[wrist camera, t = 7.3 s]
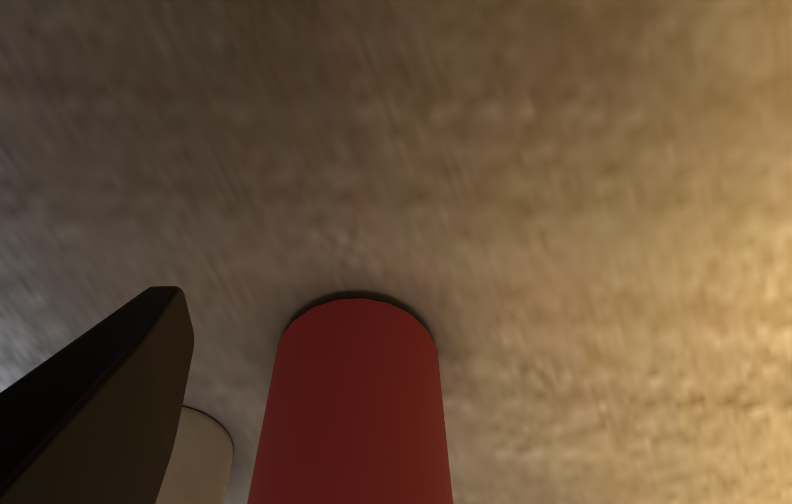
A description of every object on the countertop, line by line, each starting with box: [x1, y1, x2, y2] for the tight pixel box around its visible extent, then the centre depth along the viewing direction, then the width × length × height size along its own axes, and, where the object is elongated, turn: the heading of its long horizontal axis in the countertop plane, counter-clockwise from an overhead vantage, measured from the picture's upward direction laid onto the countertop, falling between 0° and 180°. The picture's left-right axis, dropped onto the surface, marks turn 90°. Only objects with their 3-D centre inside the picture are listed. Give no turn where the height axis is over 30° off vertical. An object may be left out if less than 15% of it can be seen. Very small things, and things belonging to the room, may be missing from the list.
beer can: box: [247, 298, 453, 504], centre depth 22 cm, size 7×7×12 cm
